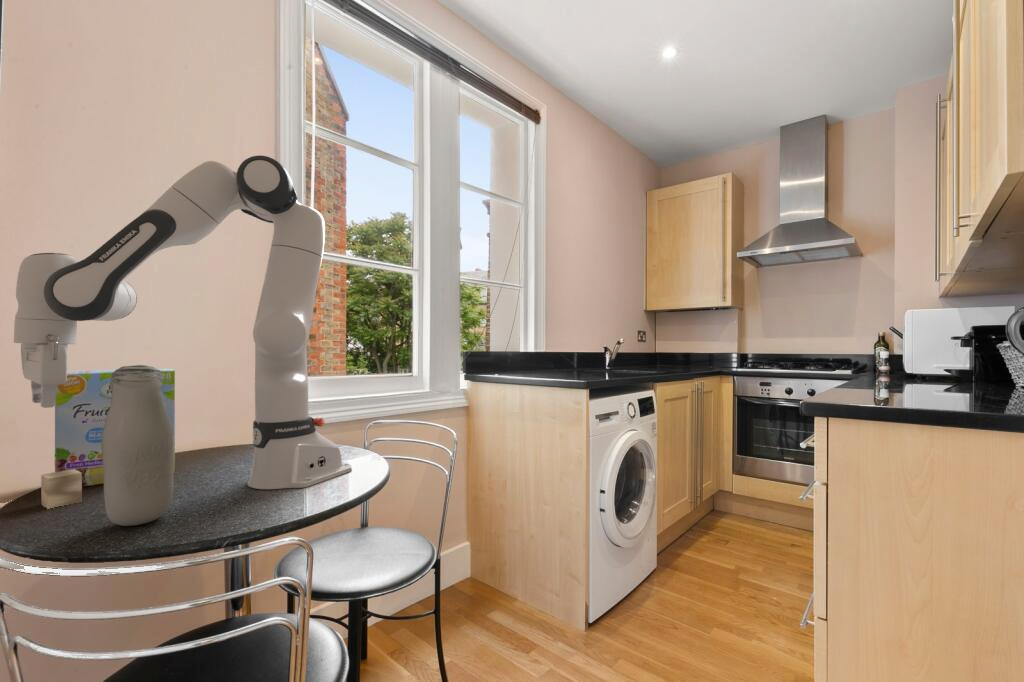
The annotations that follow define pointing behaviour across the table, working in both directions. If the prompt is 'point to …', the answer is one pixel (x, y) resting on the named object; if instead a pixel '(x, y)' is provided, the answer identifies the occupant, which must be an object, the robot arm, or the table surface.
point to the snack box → (92, 420)
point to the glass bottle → (137, 448)
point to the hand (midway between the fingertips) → (42, 404)
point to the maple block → (61, 488)
